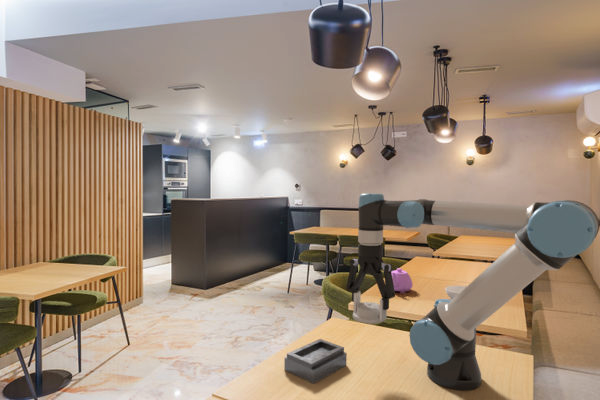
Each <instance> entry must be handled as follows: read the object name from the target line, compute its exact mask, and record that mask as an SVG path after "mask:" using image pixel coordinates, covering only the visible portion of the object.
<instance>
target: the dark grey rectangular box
mask: <svg viewBox="0 0 600 400" xmlns="http://www.w3.org/2000/svg"><path fill="white" fill-rule="evenodd" d="M346 366H347V352H345V347H344V346H341V345H338V344H335V343H333V342H330V341H327V340H326V339H325V340H324V339H322V338H319V339H317V340H314V341H312V342H310V343H308V344H305V345H303V346H301V347H299V348H296V349H294V350H292V351H290V352H287V353H286V356H284V366H283V367H284V371H285V372H288V373H290V374H292V375H294V376H296V377H298V378H300V379H303V380H305V381H307V382H309V383H311V384H314V385H315V384H316V383H318V382H319V381H321V380H323V379H325V378H327V377H328V376H330V375H332V374H334V373H335V372H337V371H339V370H341V369H342V368H344V367H346Z"/></svg>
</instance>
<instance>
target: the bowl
mask: <svg viewBox="0 0 600 400" xmlns="http://www.w3.org/2000/svg"><path fill="white" fill-rule="evenodd" d="M467 286H468V285H467ZM467 286H464V285H449V286H446V287H445V289H444V290H445V292H446V295H447V296H448V297H449V298H450V300H453V299H454V298H455V297H456V296H457V295H458V294H459V293H460V292H461V291H463V290H464V289H465V288H466V287H467Z"/></svg>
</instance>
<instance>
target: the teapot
mask: <svg viewBox="0 0 600 400" xmlns="http://www.w3.org/2000/svg"><path fill="white" fill-rule="evenodd" d="M391 273H392V279H393V284H394V290H395V292H400V294H405V293H406V292H409V291H410V290H411V289H412V288H413V281H412V278H411V276H410V274H409V273H408V272H407V271H405V270H404V269H403V268H401V267H400V268H398V267H397V268H396V270H395V269H394V270H392V271H391Z"/></svg>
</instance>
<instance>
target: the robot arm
mask: <svg viewBox="0 0 600 400" xmlns="http://www.w3.org/2000/svg"><path fill="white" fill-rule="evenodd" d="M384 196H385V195H384V194H383V193H366V192H365V193H361V194H360V196H359V198H358V208H357V209H358V229H357V231H358V232H357V233H358V234H357V239H358V240H357V241H358V243H359V244H358V245H357V255H358V258H352V259H350V260H349V266H350V267H349V272H348V278H347V282H346V290H349V291H351V301H352V302H353V312H357V304H359V303H361V301H362V299H361V296H362V295H361V294H362V293H361V291H360V288H361V286H362V284H363V280H364V279H365V277H366V275H367V274H369V275H371V276H373V278H374V280H375V282H376V284H377V288H378V290H379V292H380V295H381V298H380V299H379V305H380V321H383V320H385V321H386V320H387V310H389V308H390V299H392V298H395V297H396V291H395V290H394V284H393V279H392V273H391V272H392V271H393V270H392V269H393V265H392V264H391V263H388V264H387V263H386V262H384V261H383V257H384V246H383V244H382V243H384V226H390V227H398V228H400V227H401V228H406V229H411V228H413V229H414V228H417V229H418V228H420V227H421V225H429V226H443V227H451V228H462V229H471V230H481V231H490V232H492V231H493V232H502V233H511V234H514V239H515V240H514V243H513V244H511V246H510V247H509V248H507V249H506V250H505V251H504V252H503V253H502V254H501V255H500V256H498V258H496V259H495V260H494V261H493V262H492V263H491V264H489V266H488V267H487V268H486V269H485V270H483V272H481V273H480V274H478V275H477V277H475V278H474V280H472V281H471V282H470V283H469V284H468V285H467V287H466V288H465V289H464V290H463V291H461V292H460V293H459V294H458V295H457V296H456V297H455V298H454V299H453V300H452V299H451V298H450V299H448V298H438V299H436V300H435V301H434V305H433V307H434V308H433V309H431V310H430V311H429V312H428V313H426V315H425V316H424V317H422V318H421V319H419V320H417V321H415V322H414V324H413V325H412V326H411V328H410V330H409V341H410V343H409V344H410V345H411V347H412V350H413V351H414V352H415V354H416V355H417V356H418V357H419V359H421V360H422V361H423V362H425V363H427V366H426V368H427V369H426V370H427V371H426V374H427V376H428V378H429V379H430V380H431V381H432V382H434V383H436V384H437V385H439V386H443V387H445V388H448V389H453V390H458V391H470V390H475V389H477V388H479V387H480V386H481V385H482V371H481V370H480V366H479V362H478V360H477V357H476V348H477V345H476V342H477V338H476V337H477V336H476V335H477V327H479V326H480V325H482V324H483V323H484V322H485V321H487V319H488V318H490V317H491V316H493V314H495V313H496V312H497V311H498V310H500V309H501V308H503V306H504V305H505V304H507V303H508V302H509V301H510V300H512V299H513V298H514V297H515V296H517V295H519V293H520V292H522V290H524V289H525V288H526V287H528V286H529V285H530V284H531V283H533V282H534V281H535V280H536V279H537V278H538V277H540V276H541V275H542V274H543V273H544V272H546V271H547V270H549V271H558V270H560V269H561V268H563V266H565V265H566V264H568V262H570V261H571V260H573V259H574V258H575V257H577V256H578V255H579V254H581V253H583V252H585V251H586V250H587V249H589V247H591V245H592V243H594V240H595V238H596V237H597V235H598V233H599V229H600V221H599V217H598V216H597V214H596V213H595V211H594V210H593V208H591V207H589V206H588V205H587V204H585V203H583V202H580V201H577V200H571V199H570V200H569V199H568V200H567V199H566V200H555V201H551V202H539V201H537V202H536V201H534V202H533V203H532V204H531V205H523V204H505V203H487V202H486V203H484V202H469V201H468V202H466V201H465V202H464V201H450V200H449V201H448V200H432V199H431V200H430V199H424V198H422V199H420V198H419V199H416V200H415V199H409V200H386V199H385V197H384ZM358 266H359V267H360V268H359V267H358ZM358 268H359V270H358ZM382 271H383V272H382ZM357 273H358V274H357Z"/></svg>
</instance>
